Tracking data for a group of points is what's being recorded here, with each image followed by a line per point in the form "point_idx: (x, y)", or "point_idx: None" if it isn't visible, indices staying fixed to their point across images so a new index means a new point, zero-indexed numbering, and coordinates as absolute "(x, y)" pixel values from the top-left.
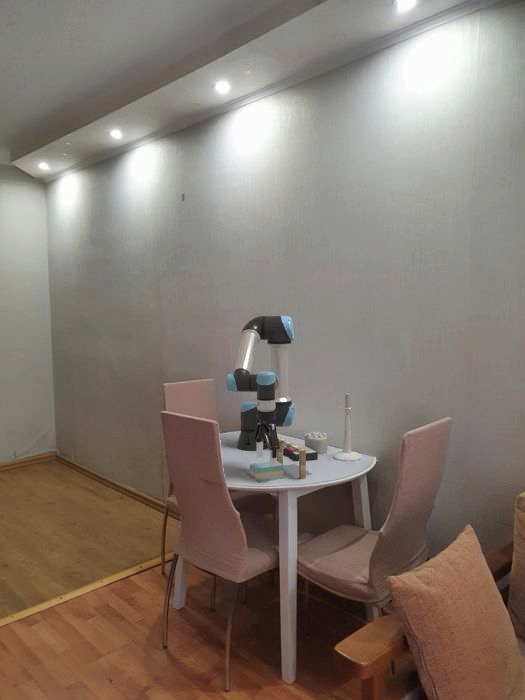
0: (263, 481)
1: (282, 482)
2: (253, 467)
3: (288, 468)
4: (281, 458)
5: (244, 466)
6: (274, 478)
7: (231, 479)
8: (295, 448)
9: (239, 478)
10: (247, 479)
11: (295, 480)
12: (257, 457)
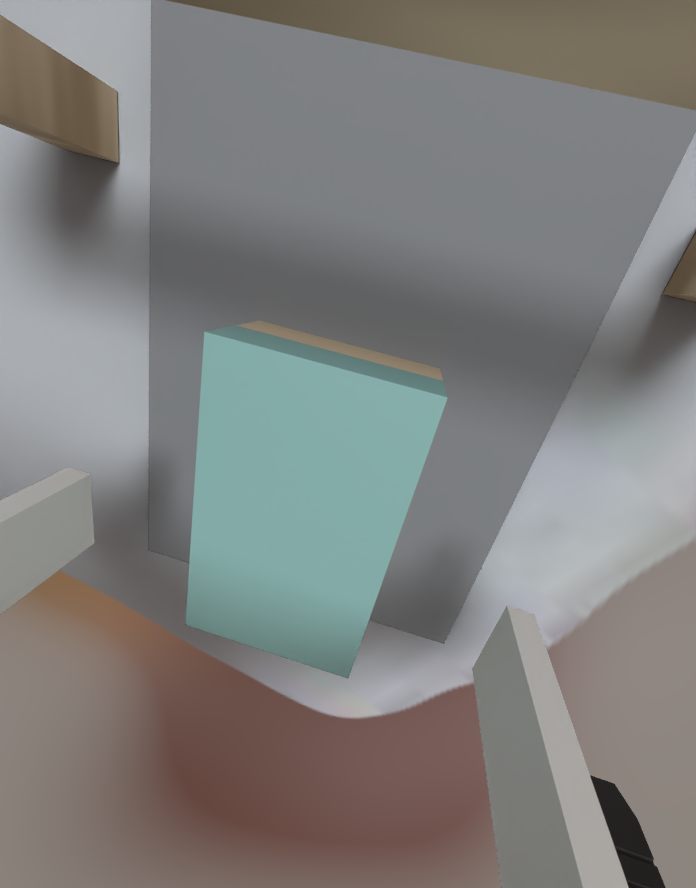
0: (456, 613)
1: (584, 509)
2: (279, 649)
3: (290, 143)
4: (30, 65)
5: (25, 455)
6: (464, 510)
7: (256, 677)
8: None
9: None
10: None
11: (664, 374)
12: (89, 543)
